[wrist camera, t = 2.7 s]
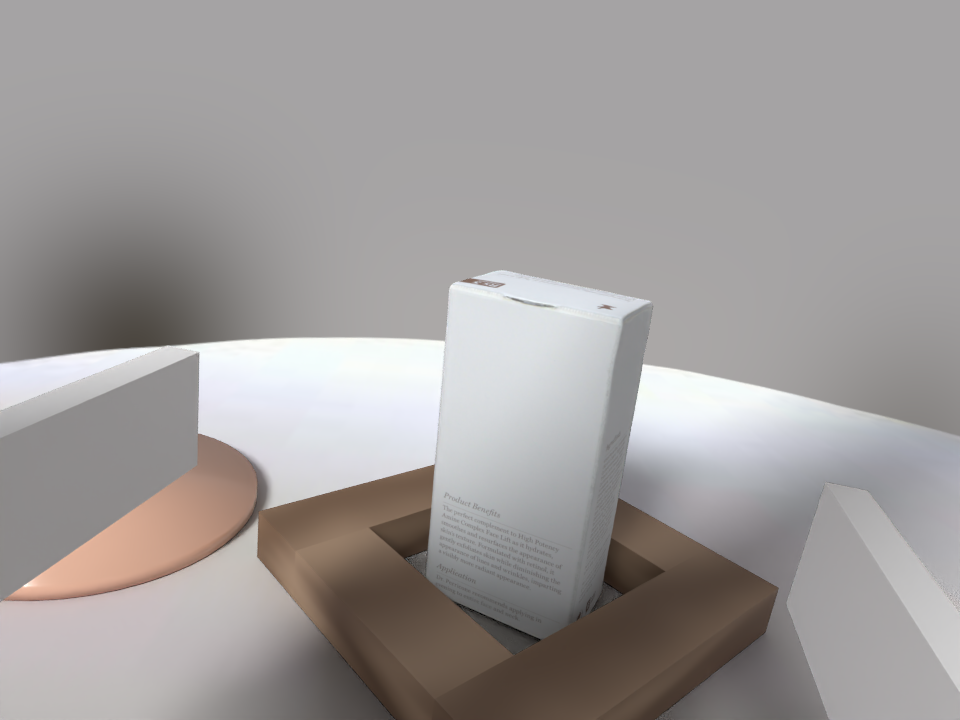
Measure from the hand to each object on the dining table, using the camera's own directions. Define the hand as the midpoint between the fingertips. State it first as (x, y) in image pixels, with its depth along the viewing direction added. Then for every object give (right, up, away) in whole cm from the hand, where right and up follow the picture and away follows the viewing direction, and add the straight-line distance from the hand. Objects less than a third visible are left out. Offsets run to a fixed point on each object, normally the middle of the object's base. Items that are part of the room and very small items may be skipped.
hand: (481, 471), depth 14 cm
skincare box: (+1, -7, +12) cm, 14 cm away
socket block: (+1, -7, +12) cm, 14 cm away
